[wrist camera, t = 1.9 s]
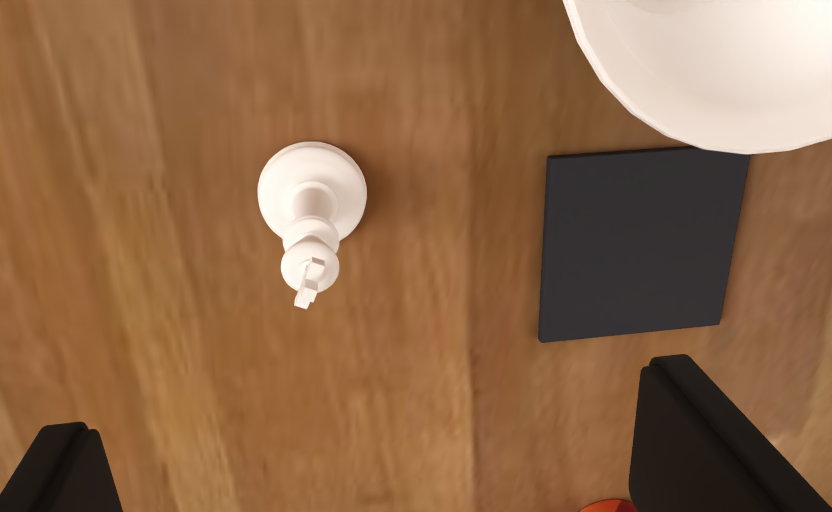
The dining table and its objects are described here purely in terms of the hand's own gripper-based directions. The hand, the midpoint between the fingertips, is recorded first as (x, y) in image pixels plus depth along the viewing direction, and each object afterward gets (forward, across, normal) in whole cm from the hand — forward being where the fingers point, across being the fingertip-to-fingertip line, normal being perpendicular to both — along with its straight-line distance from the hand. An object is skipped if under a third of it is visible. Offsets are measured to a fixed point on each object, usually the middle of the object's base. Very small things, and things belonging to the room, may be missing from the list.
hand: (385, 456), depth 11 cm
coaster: (+20, -14, +6) cm, 25 cm away
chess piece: (+20, +2, +2) cm, 20 cm away
